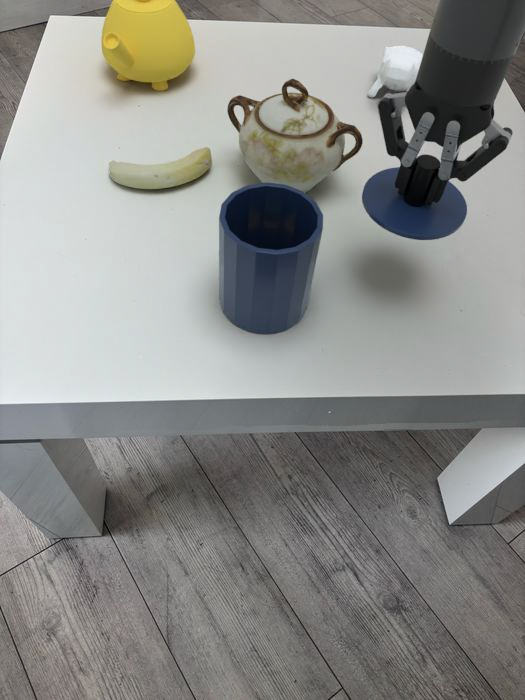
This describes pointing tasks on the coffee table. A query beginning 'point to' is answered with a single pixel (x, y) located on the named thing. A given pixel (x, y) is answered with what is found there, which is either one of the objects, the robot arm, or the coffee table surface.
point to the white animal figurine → (397, 69)
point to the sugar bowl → (292, 137)
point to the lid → (414, 203)
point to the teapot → (147, 41)
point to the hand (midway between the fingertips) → (416, 195)
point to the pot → (267, 256)
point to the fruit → (162, 171)
